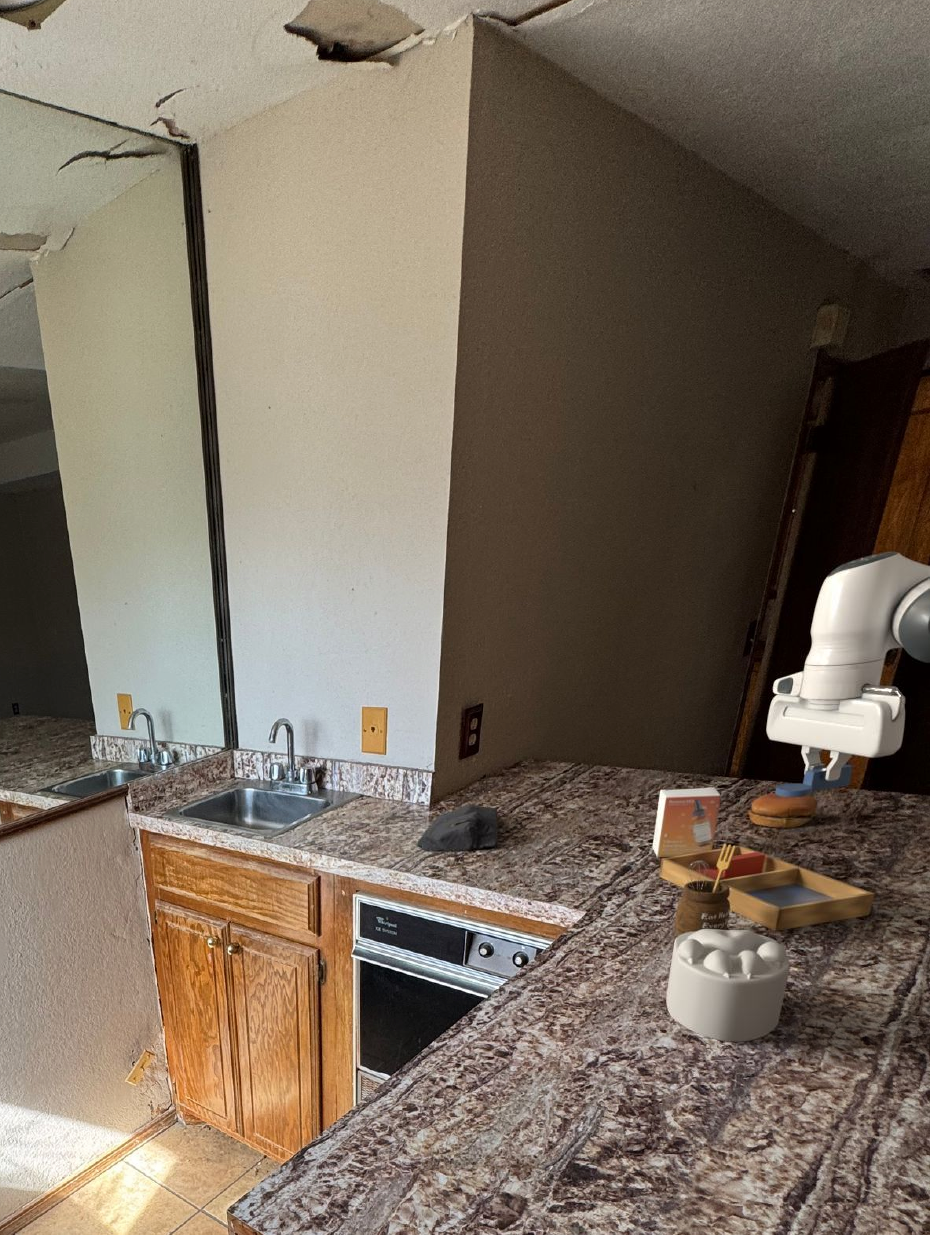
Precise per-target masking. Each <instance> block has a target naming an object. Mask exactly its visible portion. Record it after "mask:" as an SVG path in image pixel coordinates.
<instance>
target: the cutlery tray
mask: <svg viewBox="0 0 930 1235" xmlns="http://www.w3.org/2000/svg"><path fill="white" fill-rule="evenodd" d="M735 846H736V848H735V851H734V854H733V856H736V855H742V854H748V853H754V852H759V853H762V854H765V853H763V852H760V851H757V850H754V849H752V848H749V847H747V846H744V845H735ZM732 848H733V846H731V848H730V851H729V855H728V857H730V854H731V851H732ZM722 849H723V847H722V848H715V849H712V850H710V851H704V852H698V853H692V854H686V855H680V856H675V857H662V858H661V859H660V860H661V861H660V868H659V875H658V877H659V878H661V879H663V880H666V881H667V882H669V883H671V884H674V885H676V886H678V887H680V888H682V889H683V888H684V886H685V884H687V883H688V881H689V882H693V881H699V873H698V872H696V870H699V868H700V870H704V869H708V867H709V870H717V871H718V867H717V863H718V860H719V857H720V854H721V852H722ZM727 849H728V847H726V849H725V852H724V855H723V858H724V857H725V854H726V851H727ZM694 861H702V862H701V863H700V862H699V863H698V862H695V863H694ZM692 862H693V864H692V865H691V863H692ZM704 862H705V863H704ZM702 863H703V864H705V867H706V868H705V867H704V865H703V864H702ZM690 865H691V867H689V866H690ZM694 865H695V866H694ZM688 868H689V869H688ZM692 869H693V870H692ZM691 877H692V881H691V880H690V878H691ZM701 880H706V876H705V877H704V875H703V874H701V873H700V881H701ZM707 881H716V880H715V879H712V878H710V877H709V879H708V876H707ZM719 882H721V883H724V884H726V885H727V886H728V887H729V890H730V895H729V897H728V898H727V899H728V900H729V902H730V911H731V912H733V913H735V914H738V915H739V916H742V917H744V918H746V919H748V920H750V921H752V922H755V923H756V924H759V925H761V926H763V927H765V928H767V929H770V930H771V931H773V932H776V931H783V930H790V929H796V928H802V927H807V926H813V925H819V924H824V923H830V922H836V921H837V922H838V921H843V920H848V919H854V918H860V917H861V918H862V917H866V916H870V913H871V909H872V905H873V902H874V898H875V893H874V892H871V891H868V890H865V889H863V888H860V887H857V886H854V885H852V884H848V883H847V882H843V881H841V880H838V879H834V878H832V877H830V876H827V875H824V874H822V873H819V872H815V871H813V870H810V869H808V868H805V867H802V866H799V865H796V864H793V863H790V862H788V861H785V860H782V859H779V858H778V857H777V858H776V857H774V856H772V855H769V854H765V860H764V865H763V870H762V873H759V874H753V875H747V876H741V877H735V878H729V879H724V880H720V881H719Z"/></svg>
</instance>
